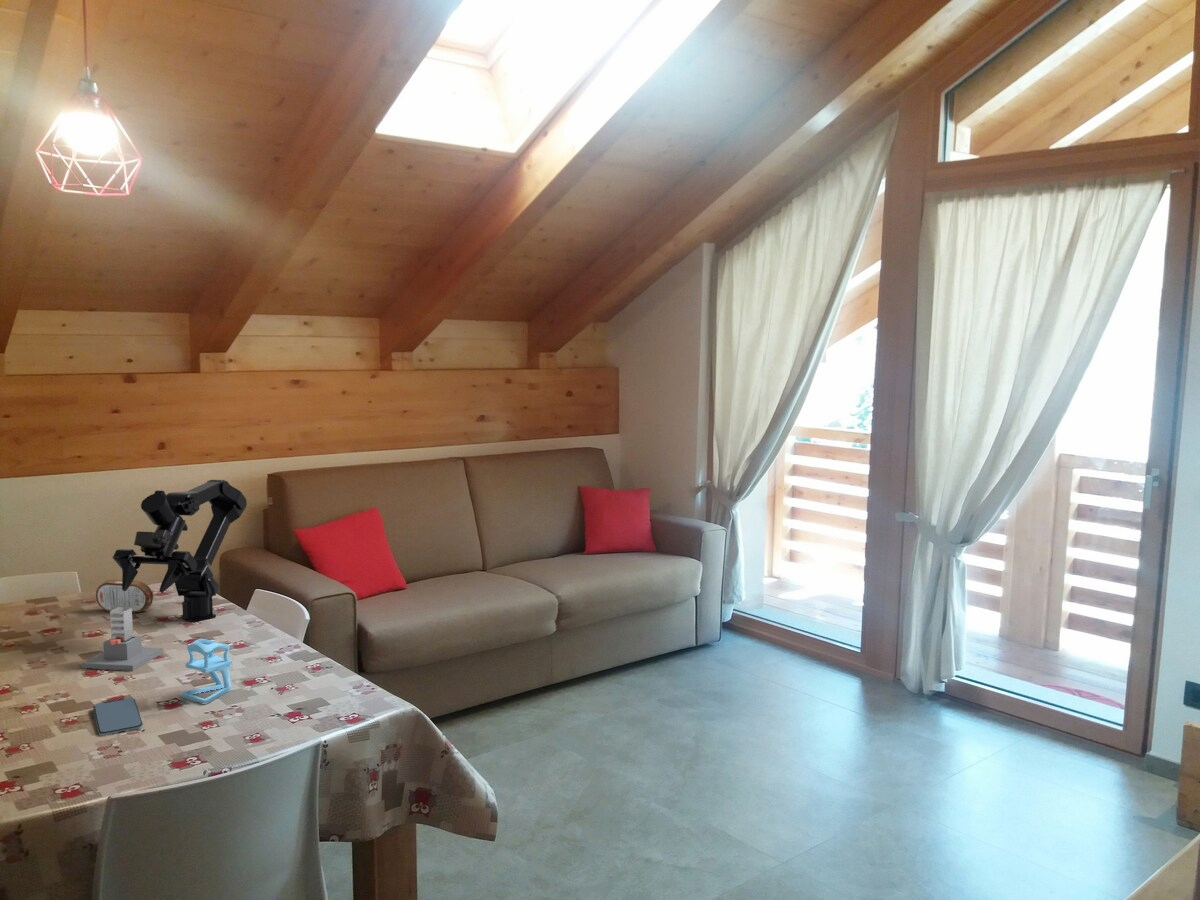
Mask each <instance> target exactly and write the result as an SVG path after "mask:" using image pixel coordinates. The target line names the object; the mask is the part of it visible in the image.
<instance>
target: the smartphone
mask: <svg viewBox="0 0 1200 900" xmlns="http://www.w3.org/2000/svg"><path fill="white" fill-rule="evenodd" d="M92 711H93V715H94V720H95V723H96V726H97V727H98V728H97V727H96V728H97V731H99V732H98V735H99V736H100V735H101V736H100V737H107V736H111V734H112V735H116V734H117V735H118V734H122V733H123V734H124V733H129V732H132V731H133V732H134V731H138V729H139V730H141V729H143V728H144V723H143V720H142V717H141V714H140V712H139V708H138V705H137V701H136V699H135V698H133V697H126V698H120V699H119V698H118V699H113V700H108V701H103V702H98V703H96V704H93V709H92ZM106 735H107V736H106Z"/></svg>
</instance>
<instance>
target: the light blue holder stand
mask: <svg viewBox="0 0 1200 900" xmlns="http://www.w3.org/2000/svg"><path fill="white" fill-rule="evenodd" d="M186 648H187V649H186V650H187V652H188V654H189V661H188V662H185V668H187V669H192V670H196V671H199V672H200V673H203V674H209V675H210V677H211V678H212V680H213V682H215V684H213V685H208V686H204V687H198V688H194V689H190V690H186V691H182V692H181V698H182V697H183V699H185V698H187V700H189V699H190V700H189V701H192V700H194V701H193V702H195V701H197V702H196V703H198V702H200V703H199V704H201V703H208V702H210V701H212V700H213V701H215V700H216V698H217V697H218V698H220V697H221V695H222V696H223V695H225V694H226V692H227V693H229V692H230V690H231V691H232V685H231V684H232V683H231V677H230V668H231V665H233V660H232V659H229V650H230V648H231V644H230V643H229V644H224V643H220V642H215V640H214V639H209V640H208V639H205V638H198V639H196V640H194V641H192V642H191V643H190V644H189V645H187V646H186ZM219 649H221V650H225V651H224V652H223V657H220V656H217V655H216V654H215V655H214V652H215V651H216V650H219ZM193 652H195V653H199V654H201V655H203V656H204V657H201V658H200V659H196V660H195V656H194V653H193ZM218 671H219V672H220V674H221V676H222V679H221V678H220V676H219V674H218V673H217V672H218ZM222 680H223V681H222ZM223 687H224V688H223ZM221 688H222V689H221ZM216 689H218V690H216ZM210 690H214V691H215V692H214V693H213V694H211V695H210V696H208V697H206V698H203V697H200V696H198V694H197V693H199V694H202V693H201V692H204V693H207V692H206V691H209V692H211V691H210ZM228 691H229V692H228ZM224 693H225V694H224ZM193 694H195V695H193ZM219 696H220V697H219ZM218 698H217V699H218ZM214 699H215V700H214ZM213 701H212V702H213ZM210 703H211V702H210ZM208 704H209V703H208Z"/></svg>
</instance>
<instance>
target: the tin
mask: <svg viewBox="0 0 1200 900" xmlns="http://www.w3.org/2000/svg"><path fill="white" fill-rule="evenodd" d="M95 599H96V601H97V604H98V606H99V607H100V608H101V609H103V610H105V611H107V612H110V611H111V610H114V609H116V608H118V607H126V608H132V612H138V613H142V612H143V611H145V610H147V609H149V608H150V607H151V606H152V604H153V601H154V595H153V591H152V589H151V587H150V586H149V585H148V584H147V583H145V582H144V581H139V580H133V581H132V583H131V584H130V586H129V588H128V589H127V590H126V591H123V590H122V579H108V580H106V581H105V582H103V583H102V584H101V583H100V585H99V586H98V587H97V589H96V590H95Z"/></svg>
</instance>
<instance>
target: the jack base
mask: <svg viewBox="0 0 1200 900" xmlns="http://www.w3.org/2000/svg"><path fill="white" fill-rule="evenodd" d="M142 645H143V644H142V635H133V639H131V640H129V641H127V642H121V639H111V638H109V639H107V640H105V641H104V642H103V643H102V646H103V651H102V652H100V653H98V654H96V655H93V656H92V657H89V658H88V659H86V660H84V661H82V663H81V669H87V668H92V669H91V670H111V671H126V672H127V671H131V672H132V671H136V670H137V669H138V668H140V667H142V666H143V665H145V664H147V663H148V662H151V661H152V660H154V659H155V658H156V657H158V656H160V655H162V654H163V653H164V650H163V649H164V648H163V647H156V646H155V647H152V646H142Z"/></svg>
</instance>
